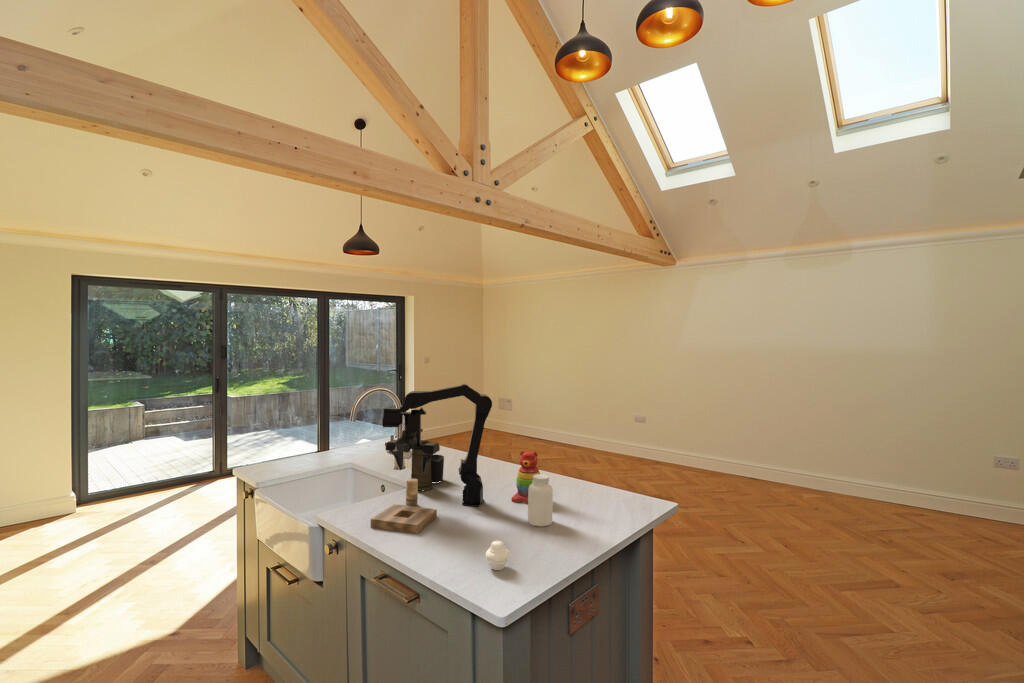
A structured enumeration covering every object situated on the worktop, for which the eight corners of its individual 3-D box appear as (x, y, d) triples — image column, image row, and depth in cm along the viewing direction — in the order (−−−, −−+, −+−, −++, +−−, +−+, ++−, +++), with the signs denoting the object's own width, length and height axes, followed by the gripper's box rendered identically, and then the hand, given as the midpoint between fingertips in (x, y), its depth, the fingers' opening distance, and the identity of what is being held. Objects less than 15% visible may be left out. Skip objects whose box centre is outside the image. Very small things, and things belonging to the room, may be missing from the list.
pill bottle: (554, 519, 152) (555, 474, 152) (548, 528, 145) (549, 481, 145) (531, 516, 155) (532, 471, 155) (524, 525, 147) (525, 478, 147)
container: (427, 492, 178) (428, 445, 179) (406, 490, 180) (406, 444, 180) (436, 485, 187) (436, 441, 187) (415, 483, 189) (415, 439, 189)
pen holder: (441, 484, 189) (442, 460, 189) (418, 484, 189) (419, 459, 189) (445, 477, 198) (445, 454, 198) (423, 477, 198) (423, 454, 198)
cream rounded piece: (493, 576, 115) (494, 548, 115) (480, 566, 120) (481, 539, 120) (513, 569, 119) (514, 542, 119) (500, 560, 124) (500, 533, 124)
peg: (419, 504, 165) (419, 479, 165) (414, 508, 161) (414, 482, 161) (409, 503, 166) (409, 478, 166) (403, 506, 162) (404, 481, 163)
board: (436, 516, 154) (436, 509, 154) (416, 533, 140) (416, 525, 140) (393, 511, 158) (394, 504, 158) (370, 526, 145) (370, 518, 145)
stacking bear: (509, 501, 169) (510, 453, 169) (519, 493, 178) (520, 447, 178) (537, 506, 165) (538, 456, 165) (546, 497, 174) (546, 450, 174)
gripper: (377, 429, 159) (376, 474, 159) (426, 432, 154) (425, 479, 154) (394, 424, 169) (393, 466, 169) (440, 427, 164) (440, 470, 164)
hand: (412, 470), depth 164 cm, fingers open, 9 cm apart
